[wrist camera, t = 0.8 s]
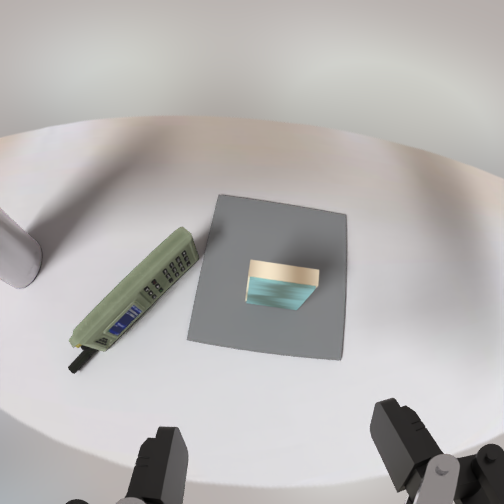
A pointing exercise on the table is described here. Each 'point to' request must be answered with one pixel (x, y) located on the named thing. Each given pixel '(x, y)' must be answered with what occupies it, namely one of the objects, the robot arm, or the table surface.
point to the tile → (279, 284)
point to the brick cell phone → (134, 295)
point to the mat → (274, 251)
